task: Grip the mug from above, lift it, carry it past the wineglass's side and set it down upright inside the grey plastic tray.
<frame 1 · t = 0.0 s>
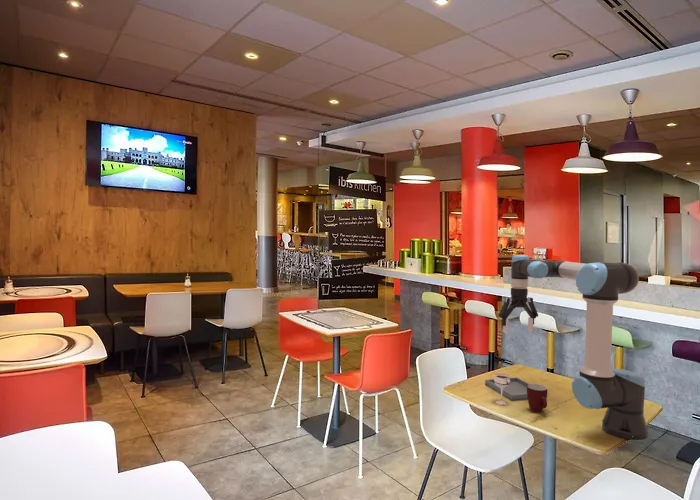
hand: (517, 332, 217), 28 cm above the table, tool pointing down, fingers open, 13 cm apart
wineglass: (501, 403, 201), on the table
tray: (514, 390, 216), on the table
mug: (538, 412, 192), on the table
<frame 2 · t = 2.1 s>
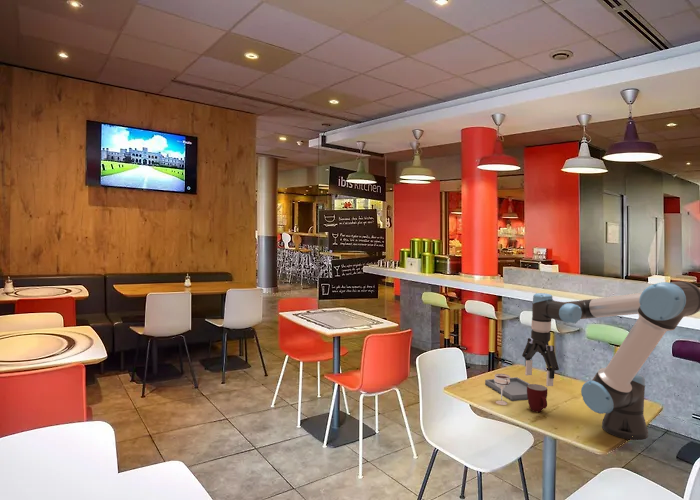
hand: (538, 380, 192), 13 cm above the table, tool pointing down, fingers open, 13 cm apart
nothing on the table moved.
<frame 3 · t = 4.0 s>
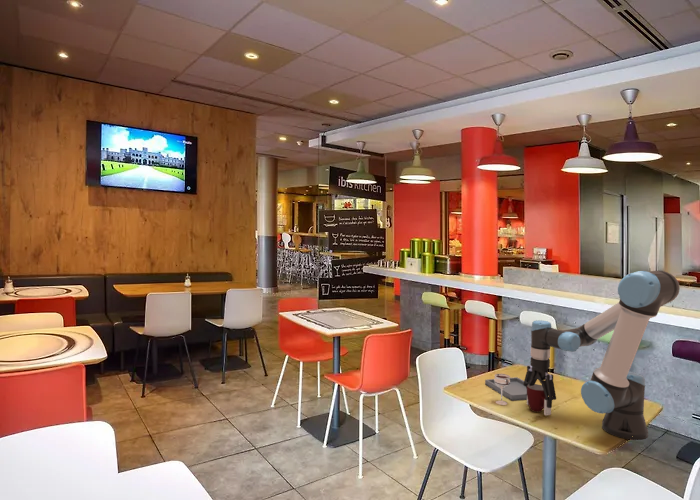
hand: (538, 409, 192), 1 cm above the table, tool pointing down, fingers closed on mug, 11 cm apart
mug: (538, 411, 192), on the table, touching gripper
everything else where it was.
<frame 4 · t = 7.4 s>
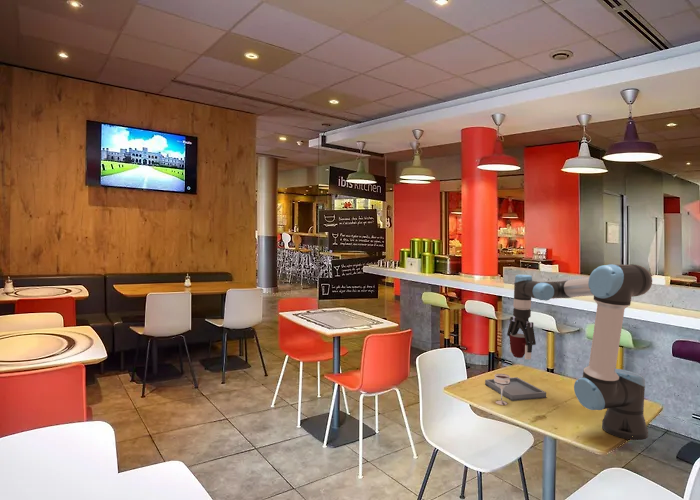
hand: (520, 355, 210), 19 cm above the table, tool pointing down, fingers closed on mug, 11 cm apart
mug: (519, 357, 210), point 17 cm above the table, touching gripper
everything else where it was.
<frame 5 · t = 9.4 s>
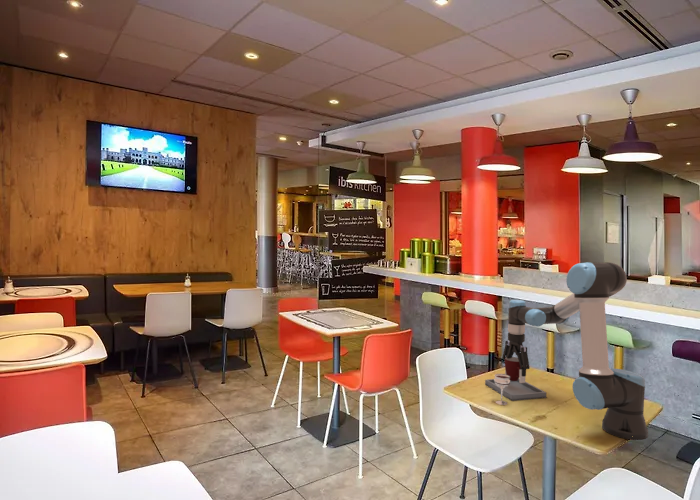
hand: (514, 378, 216), 6 cm above the table, tool pointing down, fingers closed on mug, 10 cm apart
mug: (514, 381, 216), point 5 cm above the table, touching gripper
everything else where it was.
when the fingers open (3 cm above the table, at t = 11.0 s): mug drops 1 cm, resting on tray.
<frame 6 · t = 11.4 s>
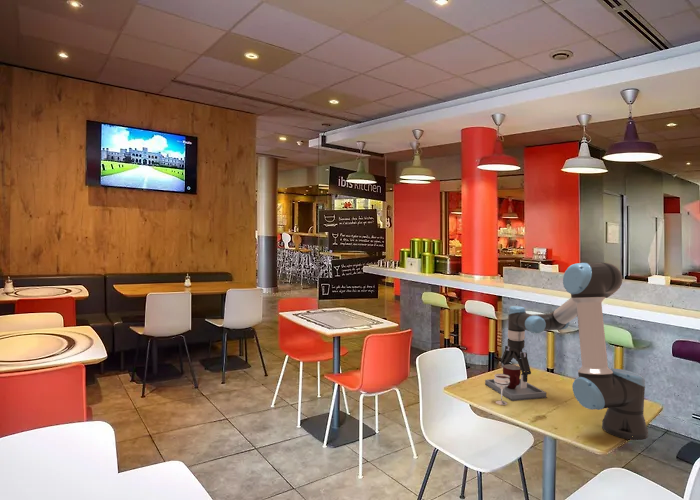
hand: (514, 383, 216), 4 cm above the table, tool pointing down, fingers open, 13 cm apart
mug: (512, 388, 218), point 1 cm above the table, touching gripper, tray
everything else where it was.
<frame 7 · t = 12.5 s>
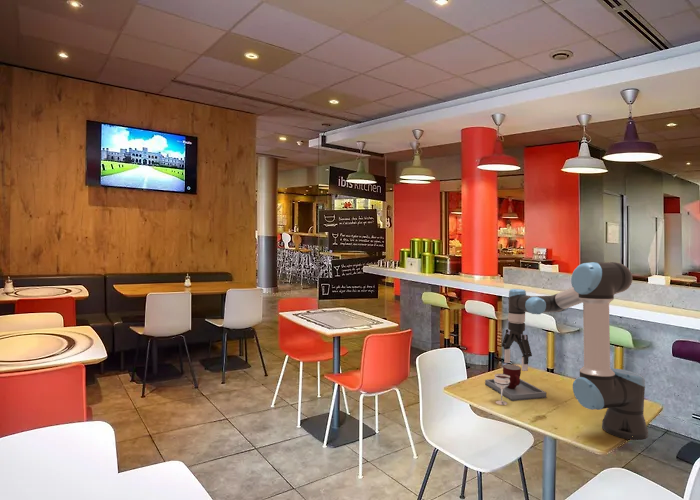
hand: (515, 366, 216), 12 cm above the table, tool pointing down, fingers open, 13 cm apart
mug: (512, 388, 218), point 1 cm above the table, touching tray
everything else where it was.
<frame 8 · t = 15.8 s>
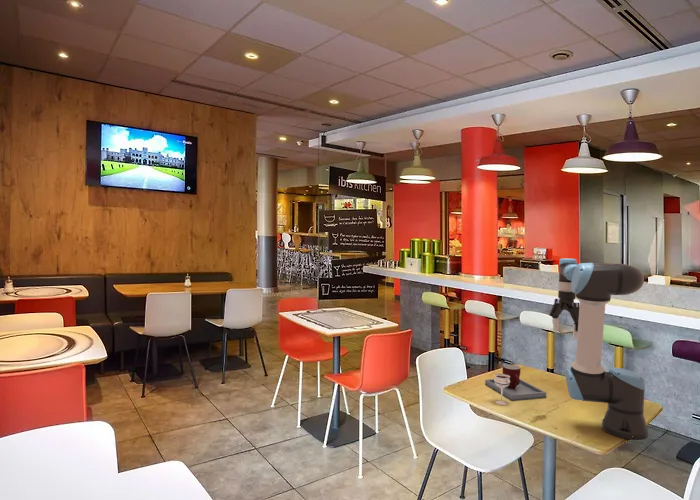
hand: (565, 334, 219), 27 cm above the table, tool pointing down, fingers open, 13 cm apart
nothing on the table moved.
at the end: mug inside the target area on the tray (1.4 cm from its centre), point 0.6 cm above the tray's base; mug tilted 0°; the gripper is holding nothing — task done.
